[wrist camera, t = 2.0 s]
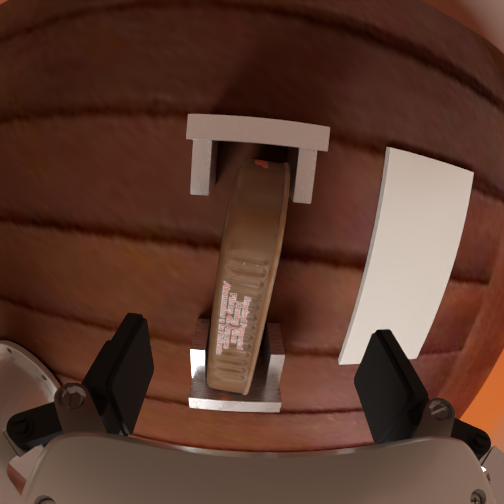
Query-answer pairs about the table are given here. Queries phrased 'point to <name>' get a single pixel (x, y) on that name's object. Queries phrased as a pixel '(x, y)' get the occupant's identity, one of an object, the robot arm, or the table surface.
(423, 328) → the mat
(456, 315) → the table surface
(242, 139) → the end brackets
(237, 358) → the tin
